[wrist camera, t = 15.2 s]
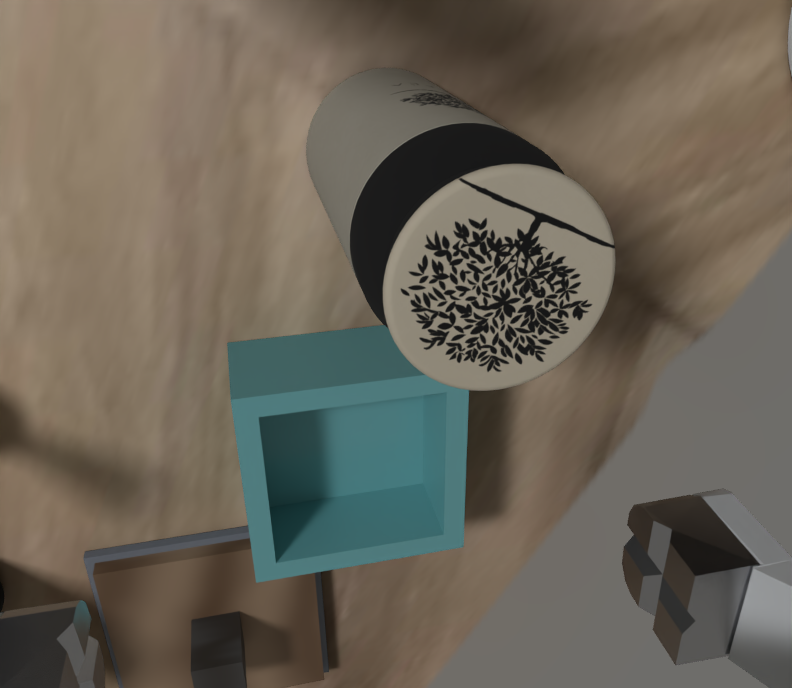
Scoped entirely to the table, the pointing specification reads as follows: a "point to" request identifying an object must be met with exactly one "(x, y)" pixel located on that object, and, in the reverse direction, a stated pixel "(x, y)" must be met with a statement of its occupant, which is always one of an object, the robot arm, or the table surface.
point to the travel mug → (458, 231)
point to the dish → (345, 452)
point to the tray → (177, 544)
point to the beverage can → (1, 597)
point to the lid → (209, 620)
